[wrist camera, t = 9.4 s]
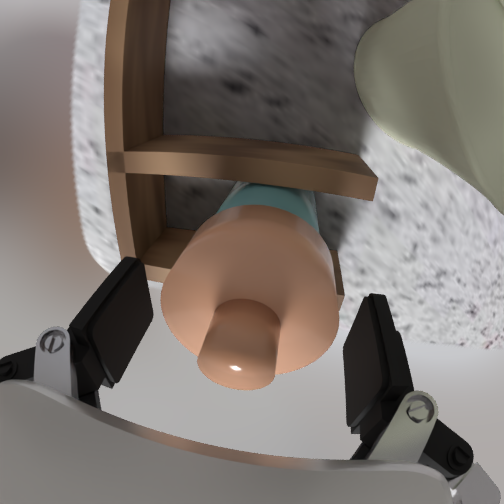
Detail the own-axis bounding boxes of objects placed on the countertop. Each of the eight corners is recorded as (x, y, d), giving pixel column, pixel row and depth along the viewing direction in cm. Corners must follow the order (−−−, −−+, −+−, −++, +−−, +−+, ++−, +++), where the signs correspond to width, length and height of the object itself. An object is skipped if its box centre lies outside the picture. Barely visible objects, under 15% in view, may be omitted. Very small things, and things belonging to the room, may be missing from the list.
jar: (321, 169, 17) (335, 224, 11) (307, 244, 20) (308, 326, 14) (234, 157, 18) (192, 204, 11) (230, 233, 21) (196, 309, 14)
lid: (349, 217, 10) (375, 309, 6) (315, 333, 14) (313, 422, 10) (184, 196, 11) (117, 269, 7) (191, 314, 14) (156, 394, 10)
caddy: (376, -28, 9) (397, -58, 5) (333, 264, 21) (339, 310, 17) (159, -34, 11) (122, -57, 6) (154, 238, 22) (124, 275, 18)
